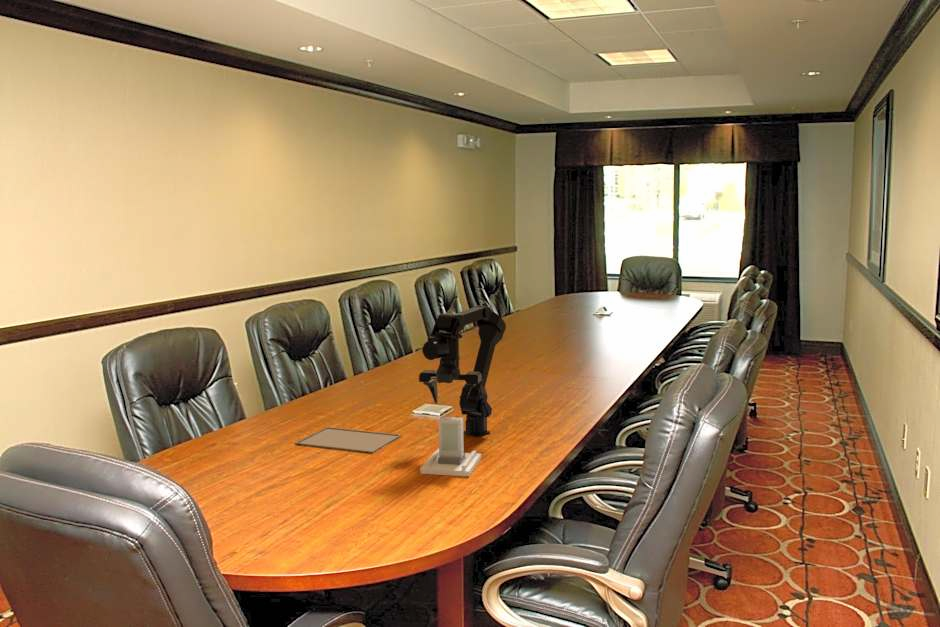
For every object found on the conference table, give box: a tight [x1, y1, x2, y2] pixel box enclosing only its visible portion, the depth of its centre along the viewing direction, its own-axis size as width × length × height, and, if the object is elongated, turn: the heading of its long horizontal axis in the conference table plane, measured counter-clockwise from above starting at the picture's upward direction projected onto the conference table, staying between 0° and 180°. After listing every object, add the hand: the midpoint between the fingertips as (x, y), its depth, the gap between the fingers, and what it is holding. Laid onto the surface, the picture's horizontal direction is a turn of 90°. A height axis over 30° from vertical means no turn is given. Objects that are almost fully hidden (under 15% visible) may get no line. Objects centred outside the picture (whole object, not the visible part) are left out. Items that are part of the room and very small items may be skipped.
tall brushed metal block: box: [437, 416, 466, 465], centre depth 239 cm, size 6×6×12 cm
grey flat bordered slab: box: [294, 426, 403, 454], centre depth 266 cm, size 19×1×28 cm
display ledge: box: [419, 448, 482, 477], centre depth 240 cm, size 16×14×3 cm
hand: (450, 404), depth 258 cm, fingers open, 9 cm apart
